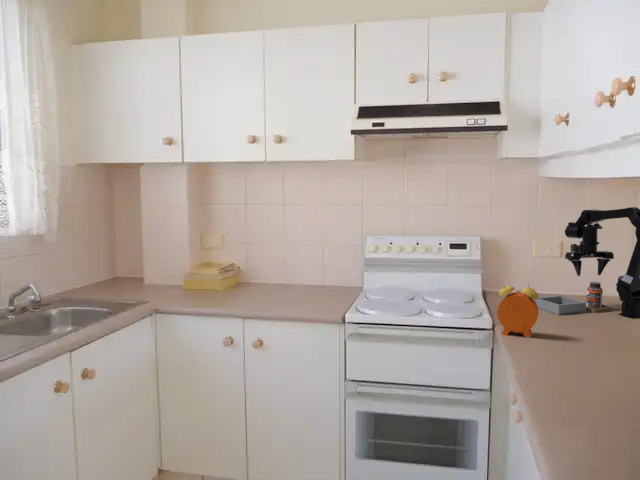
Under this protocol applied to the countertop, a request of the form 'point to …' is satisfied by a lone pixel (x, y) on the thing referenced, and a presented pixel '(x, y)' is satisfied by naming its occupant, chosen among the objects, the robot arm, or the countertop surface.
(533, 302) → the alarm clock
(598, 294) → the supplement bottle
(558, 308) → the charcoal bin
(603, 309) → the tan wooden square frame
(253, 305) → the countertop surface
